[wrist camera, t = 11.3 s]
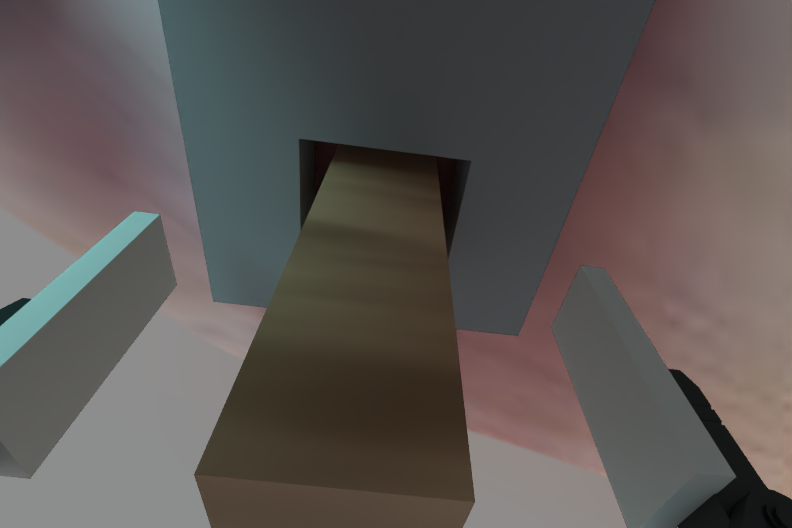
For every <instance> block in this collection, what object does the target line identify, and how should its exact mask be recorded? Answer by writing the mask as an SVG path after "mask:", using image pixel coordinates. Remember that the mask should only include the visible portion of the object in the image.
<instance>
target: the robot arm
mask: <svg viewBox="0 0 792 528" xmlns="http://www.w3.org/2000/svg"><path fill="white" fill-rule="evenodd" d="M176 285H177V283H176V279H175V275H174V271H173V267H172V263H171V258H170V254H169V250H168V246H167V242H166V238H165V234H164V230H163V226H162V221H161V217H160V214H153V213H144V212H136V211H134V212H133V213H132V214H130V215H129V216H128V217H127V218H126V219H125V220H123V221H122V222H121V223H120V224H119V225H118V226H116V227H115V228H114V229H113V230H112V231H111V232H109V233H108V234H107V235H106V236H105V237H104V238H103V239H101V240H100V241H99V242H98V243H97V244H96V245H94V246H93V247H92V248H91V249H90V250H89V251H87V252H86V253H85V254H84V255H83V256H82V257H80V258H79V259H78V260H77V261H76V262H75V263H73V264H72V265H71V266H70V267H69V268H68V269H67V270H65V271H64V272H63V273H62V274H61V275H59V276H58V277H57V278H56V279H55V280H54V281H52V282H51V283H50V284H49V285H48V286H47V287H45V288H44V289H43V290H42V291H41V292H40V293H38V294H37V295H36V296H35V297H34V298H33V299H27V298H22V299H20V300H18V301H16V302H14V303H12V304H10V305H8V306H6V307H4V308H2V309H0V476H7V477H8V476H9V477H18V478H28V479H30V478H31V477H32V476H33V474H34V473H35V472H36V470H37V469H38V468H39V466H40V465H41V464H42V462H43V461H44V460H45V458H46V457H47V456H48V454H49V453H50V452H51V450H52V449H53V448H54V447H55V445H56V444H57V443H58V441H59V440H60V439H61V437H62V436H63V435H64V433H65V432H66V431H67V429H68V428H69V427H70V425H71V424H72V423H73V421H74V420H75V419H76V417H77V416H78V415H79V413H80V412H81V411H82V409H83V408H84V407H85V406H86V404H87V403H88V402H89V400H90V399H91V398H92V396H93V395H94V394H95V392H96V391H97V390H98V388H99V387H100V386H101V384H102V383H103V382H104V380H105V379H106V378H107V376H108V375H109V374H110V372H111V371H112V370H113V369H114V367H115V366H116V364H117V363H118V362H119V361H120V359H121V358H122V357H123V355H124V354H125V353H126V351H127V350H128V349H129V347H130V346H131V345H132V343H133V342H134V341H135V340H136V338H137V337H138V336H139V334H140V333H141V332H142V330H143V329H144V327H145V326H146V325H147V324H148V322H149V321H150V320H151V318H152V317H153V316H154V314H155V313H156V312H157V310H158V309H159V308H160V306H161V305H162V304H163V303H164V301H165V300H166V299H167V297H168V296H169V295H170V293H171V292H172V291H173V289H174V288H175V287H176ZM551 328H552V331H553V334H554V336H555V339H556V342H557V344H558V347H559V349H560V352H561V355H562V357H563V360H564V363H565V365H566V368H567V371H568V373H569V376H570V378H571V381H572V384H573V386H574V389H575V392H576V394H577V397H578V399H579V402H580V405H581V407H582V410H583V413H584V415H585V418H586V420H587V423H588V426H589V428H590V431H591V434H592V436H593V439H594V441H595V444H596V447H597V449H598V452H599V455H600V457H601V460H602V462H603V465H604V468H605V470H606V473H607V476H608V478H609V481H610V483H611V486H612V489H613V491H614V494H615V496H616V499H617V502H618V504H619V507H620V510H621V512H622V515H623V518H624V520H625V523H626V526H627V528H677V527H678V528H792V500H791V499H790V498H788V497H786V496H784V495H782V494H780V493H778V492H776V491H774V490H769V489H768V488H767V487H766V485H765V484H764V483H763V481H762V480H761V478H760V477H759V475H758V474H757V473H756V471H755V470H754V468H753V467H752V465H751V464H750V462H749V461H748V459H747V458H746V456H745V455H744V453H743V452H742V450H741V449H740V448H739V446H738V445H737V443H736V442H735V440H734V439H733V437H732V436H731V434H730V433H729V431H728V430H727V428H726V427H725V425H722V424H721V422H722V421H721V420H720V418H719V417H718V415H717V414H716V412H715V411H714V410H712V409H711V405H710V403H709V402H708V400H707V399H706V397H705V396H704V395H703V393H702V392H701V390H700V389H699V387H698V386H697V385H696V384H694V383H693V382H692V381H691V380H690V379H689V378H688V377H687V376H686V375H685V374H684V373H682V372H681V371H680V370H674V369H668V368H667V367H666V365H665V363H664V362H663V360H662V359H661V357H660V356H659V354H658V352H657V351H656V349H655V348H654V346H653V345H652V343H651V341H650V340H649V338H648V337H647V335H646V333H645V332H644V330H643V329H642V327H641V326H640V324H639V322H638V321H637V319H636V318H635V316H634V315H633V313H632V311H631V310H630V308H629V307H628V305H627V304H626V302H625V300H624V299H623V297H622V296H621V294H620V292H619V291H618V289H617V288H616V286H615V285H614V283H613V281H612V280H611V278H610V277H609V275H608V274H607V272H606V270H605V269H604V268H601V267H592V266H584V265H580V267H579V269H578V271H577V273H576V275H575V278H574V280H573V282H572V284H571V286H570V288H569V290H568V293H567V295H566V297H565V299H564V301H563V303H562V305H561V308H560V310H559V312H558V314H557V316H556V318H555V320H554V323H553V325H552V327H551Z"/></svg>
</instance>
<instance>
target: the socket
mask: <svg viewBox="0 0 792 528" xmlns="http://www.w3.org/2000/svg"><path fill="white" fill-rule="evenodd" d="M654 2H655V0H158V3H159V8H160V14H161V19H162V25H163V30H164V35H165V41H166V46H167V52H168V57H169V63H170V68H171V74H172V79H173V85H174V90H175V95H176V101H177V106H178V112H179V117H180V123H181V128H182V134H183V139H184V145H185V150H186V155H187V161H188V166H189V172H190V177H191V183H192V188H193V194H194V199H195V205H196V210H197V215H198V221H199V226H200V232H201V237H202V243H203V248H204V254H205V259H206V265H207V270H208V275H209V281H210V286H211V292H212V297H213V302H222V303H231V304H240V305H249V306H258V307H266V308H267V307H268V305H269V303H270V300H271V298H272V296H273V293H274V291H275V289H276V287H277V284H278V282H279V280H280V277H281V275H282V273H283V271H284V268H285V266H286V264H287V262H288V259H289V257H290V255H291V252H292V250H293V248H294V246H295V243H296V241H297V239H298V236H299V234H300V232H301V230H302V227H303V225H304V223H305V220H306V218H307V216H308V214H309V211H310V209H311V207H312V204H313V202H314V200H315V198H316V141H322V142H329V143H337V144H345V145H353V146H360V147H368V148H376V149H384V150H391V151H399V152H407V153H415V154H422V155H430V156H438V157H446V158H453V159H458V161H457V165H456V170H455V175H454V179H453V184H452V189H451V193H450V198H449V203H448V207H447V212H446V217H445V221H444V231H445V240H446V249H447V257H448V266H449V275H450V284H451V293H452V302H453V311H454V320H455V329H461V330H470V331H479V332H487V333H496V334H505V335H514V336H518V335H519V332H520V330H521V327H522V325H523V323H524V320H525V318H526V315H527V313H528V310H529V308H530V305H531V303H532V301H533V298H534V296H535V293H536V291H537V288H538V286H539V283H540V281H541V279H542V276H543V274H544V271H545V269H546V266H547V264H548V261H549V259H550V257H551V254H552V252H553V249H554V247H555V244H556V242H557V239H558V237H559V235H560V232H561V230H562V227H563V225H564V222H565V220H566V217H567V215H568V213H569V210H570V208H571V205H572V203H573V200H574V198H575V195H576V193H577V191H578V188H579V186H580V183H581V181H582V178H583V176H584V173H585V171H586V169H587V166H588V164H589V161H590V159H591V156H592V154H593V151H594V149H595V147H596V144H597V142H598V139H599V137H600V134H601V132H602V129H603V127H604V125H605V122H606V120H607V117H608V115H609V112H610V110H611V107H612V105H613V103H614V100H615V98H616V95H617V93H618V90H619V88H620V85H621V83H622V80H623V78H624V76H625V73H626V71H627V68H628V66H629V63H630V61H631V58H632V56H633V54H634V51H635V49H636V46H637V44H638V41H639V39H640V36H641V34H642V32H643V29H644V27H645V24H646V22H647V19H648V17H649V14H650V12H651V10H652V7H653V5H654Z"/></svg>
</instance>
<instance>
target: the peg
mask: <svg viewBox="0 0 792 528" xmlns="http://www.w3.org/2000/svg"><path fill="white" fill-rule="evenodd" d="M194 476H195V479H196V482H197V485H198V488H199V491H200V494H201V497H202V500H203V503H204V506H205V509H206V513H207V516H208V519H209V522H210V525H211V528H463V526H464V523H465V522H466V519H467V517H468V515H469V513H470V511H471V509H472V507H473V505H474V503H475V498H474V489H473V481H472V472H471V463H470V453H469V445H468V435H467V427H466V418H465V409H464V400H463V391H462V382H461V373H460V364H459V355H458V346H457V338H456V329H455V320H454V311H453V302H452V293H451V284H450V275H449V266H448V257H447V249H446V240H445V231H444V222H443V213H442V204H441V195H440V186H439V177H438V168H437V160H436V156H430V155H422V154H415V153H407V152H399V151H391V150H384V149H376V148H368V147H360V146H353V145H345V144H339V145H338V147H337V150H336V152H335V154H334V157H333V159H332V161H331V163H330V166H329V168H328V170H327V173H326V175H325V177H324V179H323V182H322V184H321V186H320V189H319V191H318V193H317V195H316V198H315V200H314V202H313V204H312V207H311V209H310V211H309V214H308V216H307V218H306V220H305V223H304V225H303V227H302V230H301V232H300V234H299V236H298V239H297V241H296V243H295V246H294V248H293V250H292V252H291V255H290V257H289V259H288V262H287V264H286V266H285V268H284V271H283V273H282V275H281V277H280V280H279V282H278V284H277V287H276V289H275V291H274V293H273V296H272V298H271V300H270V303H269V305H268V307H267V309H266V312H265V314H264V316H263V319H262V321H261V323H260V325H259V328H258V330H257V332H256V335H255V337H254V339H253V341H252V344H251V346H250V348H249V351H248V353H247V355H246V357H245V360H244V362H243V364H242V367H241V369H240V371H239V373H238V376H237V378H236V380H235V382H234V385H233V387H232V390H231V392H230V394H229V396H228V399H227V401H226V403H225V405H224V408H223V410H222V412H221V415H220V417H219V419H218V421H217V424H216V426H215V428H214V430H213V433H212V435H211V437H210V440H209V442H208V444H207V446H206V449H205V451H204V453H203V455H202V458H201V460H200V462H199V465H198V467H197V469H196V471H195V474H194Z"/></svg>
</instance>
